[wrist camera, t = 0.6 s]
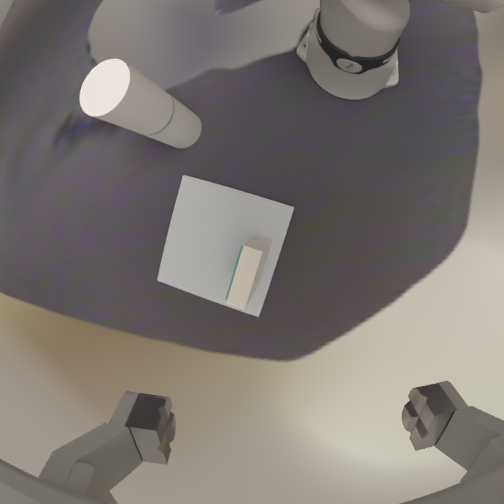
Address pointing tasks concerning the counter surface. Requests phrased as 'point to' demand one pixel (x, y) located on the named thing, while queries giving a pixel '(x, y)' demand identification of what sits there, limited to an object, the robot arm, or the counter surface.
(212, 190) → the mat
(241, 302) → the tile
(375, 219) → the counter surface
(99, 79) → the cylindrical container
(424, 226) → the counter surface
